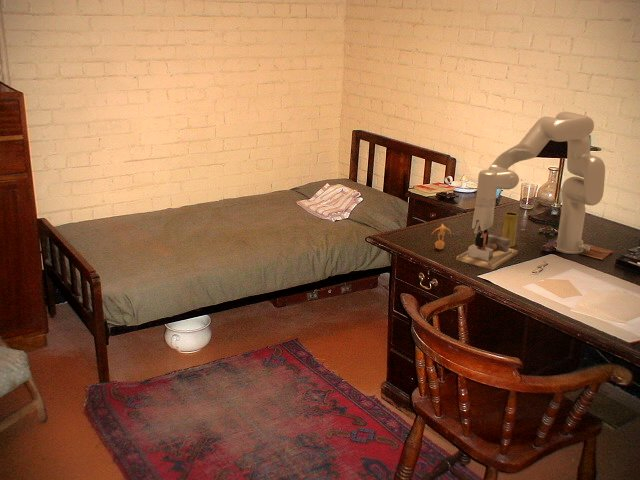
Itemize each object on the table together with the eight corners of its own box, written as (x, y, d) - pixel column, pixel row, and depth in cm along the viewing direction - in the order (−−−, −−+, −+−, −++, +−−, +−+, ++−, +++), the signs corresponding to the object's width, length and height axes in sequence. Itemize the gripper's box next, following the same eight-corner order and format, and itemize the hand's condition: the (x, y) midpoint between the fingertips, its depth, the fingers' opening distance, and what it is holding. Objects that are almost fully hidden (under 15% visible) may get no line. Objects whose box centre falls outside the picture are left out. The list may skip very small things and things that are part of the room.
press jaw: (492, 258, 266) (495, 234, 263) (488, 261, 263) (490, 236, 260) (472, 253, 271) (474, 229, 268) (467, 255, 268) (470, 231, 265)
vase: (515, 247, 284) (519, 216, 280) (501, 246, 285) (504, 215, 281) (514, 243, 290) (518, 212, 285) (500, 241, 291) (503, 211, 286)
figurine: (447, 247, 283) (450, 221, 279) (451, 252, 277) (453, 225, 273) (428, 247, 283) (430, 221, 279) (431, 252, 277) (433, 225, 273)
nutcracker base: (517, 253, 277) (519, 239, 275) (492, 269, 259) (494, 254, 257) (482, 245, 287) (484, 231, 284) (456, 260, 269) (457, 245, 267)
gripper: (486, 195, 268) (482, 238, 274) (467, 204, 256) (463, 248, 262) (503, 199, 263) (498, 242, 269) (485, 207, 251) (480, 252, 257)
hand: (481, 244), depth 265 cm, fingers closed on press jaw, 3 cm apart
